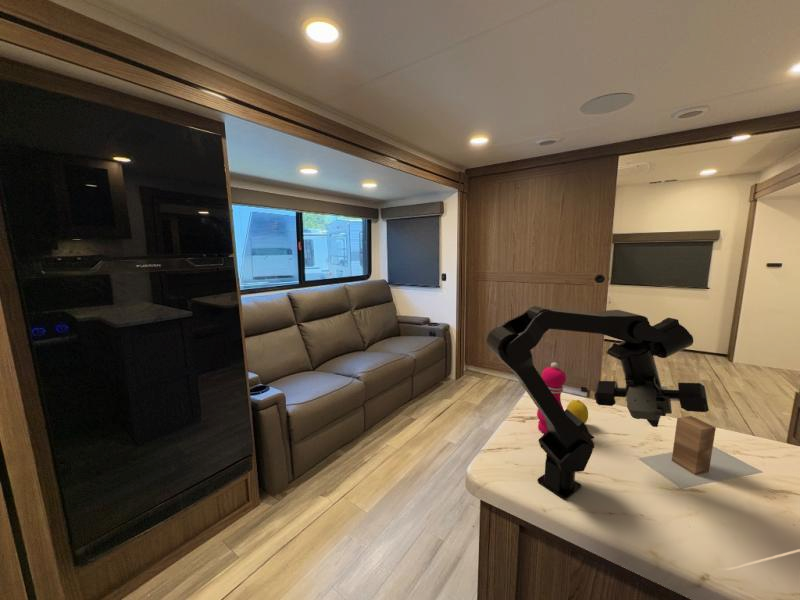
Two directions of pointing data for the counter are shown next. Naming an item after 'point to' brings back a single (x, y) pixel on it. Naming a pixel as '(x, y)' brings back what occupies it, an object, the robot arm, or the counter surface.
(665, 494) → the counter surface
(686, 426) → the walnut block
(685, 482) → the strip
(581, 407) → the lemon
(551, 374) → the pepper mill
